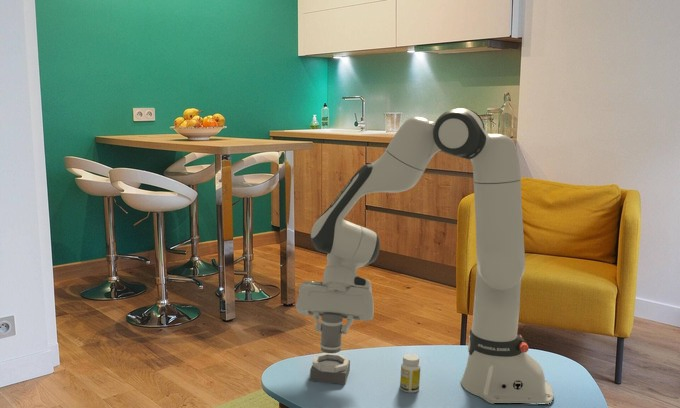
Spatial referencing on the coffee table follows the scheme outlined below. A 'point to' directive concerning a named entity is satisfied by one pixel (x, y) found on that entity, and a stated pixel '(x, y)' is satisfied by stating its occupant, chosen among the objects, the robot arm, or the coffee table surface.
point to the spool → (331, 332)
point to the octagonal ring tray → (330, 368)
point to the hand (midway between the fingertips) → (331, 332)
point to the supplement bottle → (410, 373)
